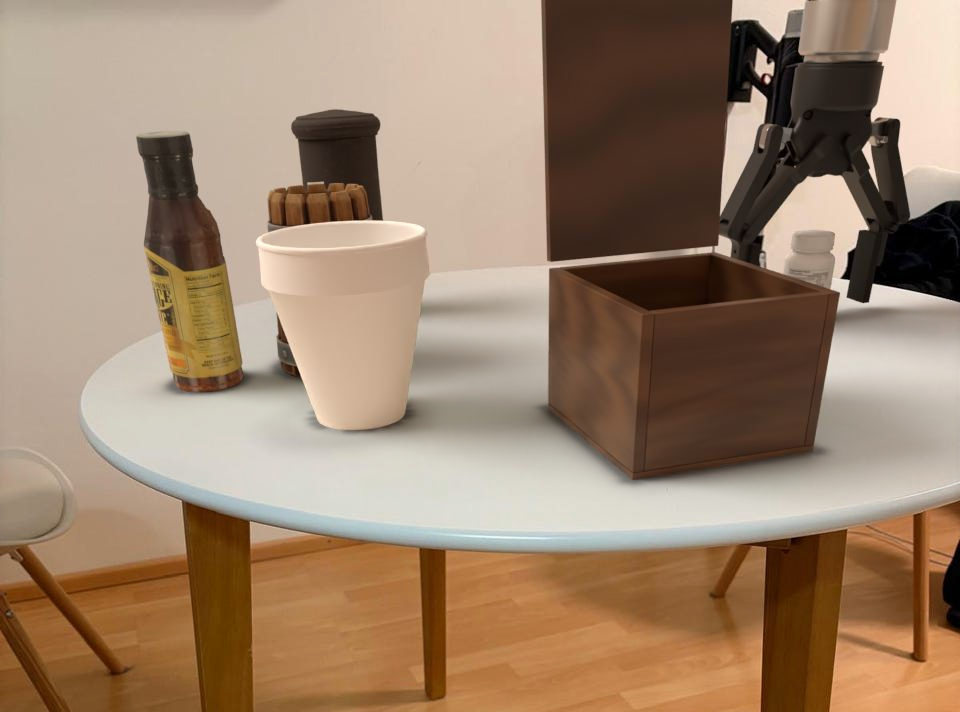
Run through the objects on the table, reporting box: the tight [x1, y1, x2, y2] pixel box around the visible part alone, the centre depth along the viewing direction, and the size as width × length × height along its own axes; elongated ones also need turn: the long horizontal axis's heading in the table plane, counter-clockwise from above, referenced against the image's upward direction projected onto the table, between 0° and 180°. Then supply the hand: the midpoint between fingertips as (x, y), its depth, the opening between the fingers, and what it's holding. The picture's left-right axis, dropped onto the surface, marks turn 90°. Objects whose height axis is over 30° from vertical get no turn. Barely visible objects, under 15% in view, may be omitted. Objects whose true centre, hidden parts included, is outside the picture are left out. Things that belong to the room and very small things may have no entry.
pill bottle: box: [782, 229, 836, 289], centre depth 91 cm, size 5×5×8 cm
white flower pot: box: [255, 220, 431, 431], centre depth 69 cm, size 12×12×14 cm
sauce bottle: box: [135, 130, 244, 393], centre depth 76 cm, size 7×6×20 cm
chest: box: [547, 251, 841, 481], centre depth 65 cm, size 16×14×11 cm
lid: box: [540, 0, 734, 263], centre depth 64 cm, size 16×14×1 cm
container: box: [290, 108, 384, 221], centre depth 97 cm, size 9×9×20 cm
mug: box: [266, 182, 373, 377], centre depth 83 cm, size 16×11×15 cm
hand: (800, 306), depth 93 cm, fingers open, 13 cm apart
